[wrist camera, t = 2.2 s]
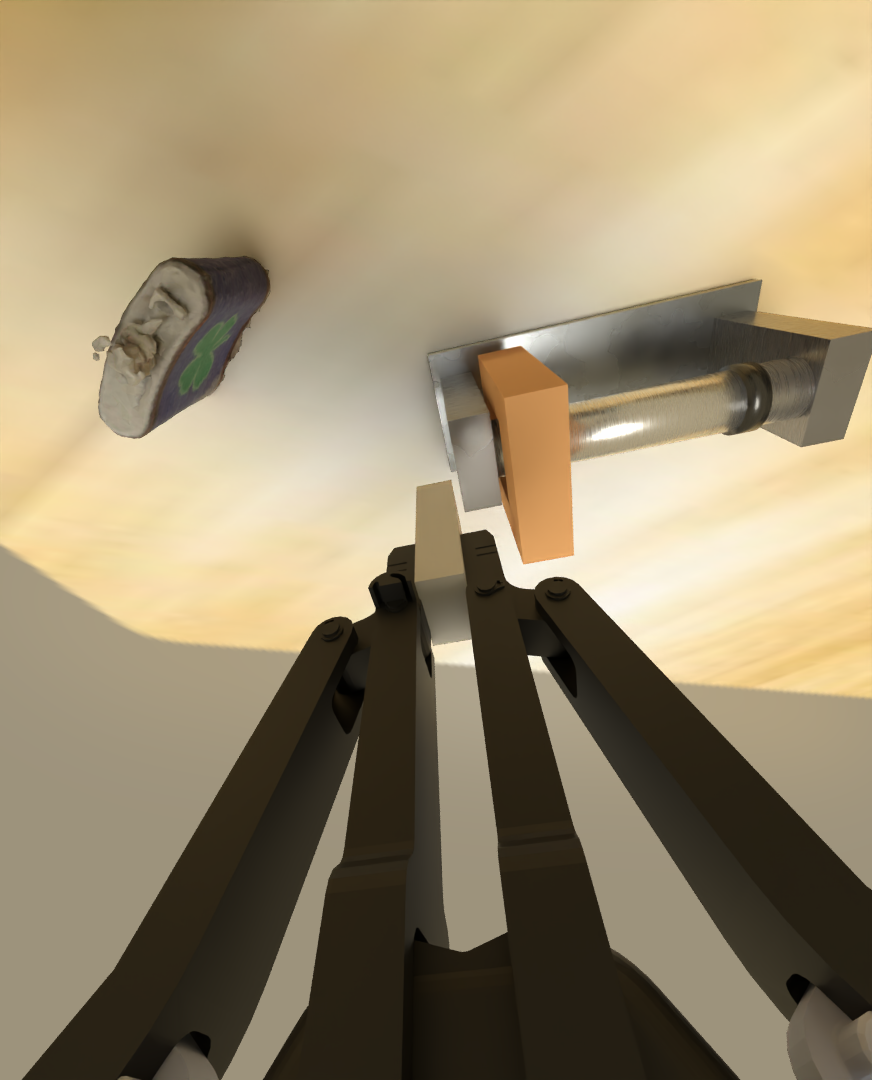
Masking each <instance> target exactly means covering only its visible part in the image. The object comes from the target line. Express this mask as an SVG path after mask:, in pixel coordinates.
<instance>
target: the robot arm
mask: <svg viewBox="0 0 872 1080" xmlns="http://www.w3.org/2000/svg"><path fill="white" fill-rule="evenodd" d="M368 589H369V591H370V594H371V597H372V599H373V602H374V605H375V607H376V610H375V613H373V614H372V615H371V616H369V617H367V618H365V619H363V620H360V621H358V622H356V623H352V621H351V620H349V619H348V618H346V617H334V618H330V619H328V620H326V621H324V622H322V623H321V624H320V625H318V626H317V627H316V628H315V630H314V631H313V632H312V634H311V636H310V637H309V639H308V641H307V642H306V644H305V646H304V648H303V649H302V651H301V653H300V654H299V656H298V658H297V659H296V661H295V663H294V665H293V666H292V668H291V670H290V671H289V673H288V675H287V676H286V678H285V680H284V682H283V683H282V685H281V687H280V688H279V690H278V692H277V693H276V695H275V697H274V699H273V700H272V702H271V704H270V705H269V707H268V709H267V710H266V712H265V714H264V716H263V717H262V719H261V721H260V722H259V724H258V726H257V727H256V729H255V731H254V733H253V734H252V736H251V738H250V739H249V741H248V743H247V744H246V746H245V748H244V750H243V751H242V753H241V755H240V756H239V758H238V760H237V761H236V763H235V765H234V767H233V768H232V770H231V772H230V773H229V775H228V777H227V778H226V780H225V782H224V784H223V785H222V787H221V789H220V790H219V792H218V794H217V795H216V797H215V799H214V801H213V802H212V804H211V806H210V807H209V809H208V811H207V813H206V814H205V816H204V818H203V819H202V821H201V823H200V824H199V826H198V828H197V829H196V831H195V833H194V835H193V836H192V838H191V840H190V841H189V843H188V845H187V846H186V848H185V850H184V852H183V853H182V855H181V857H180V858H179V860H178V862H177V863H176V865H175V867H174V869H173V870H172V872H171V874H170V875H169V877H168V879H167V881H166V882H165V884H164V886H163V887H162V889H161V891H160V892H159V894H158V896H157V897H156V899H155V901H154V902H153V904H152V906H151V908H150V909H149V911H148V913H147V914H146V916H145V918H144V919H143V921H142V923H141V925H140V926H139V928H138V930H137V931H136V933H135V935H134V936H133V938H132V940H131V942H130V943H129V945H128V947H127V948H126V950H125V952H124V954H123V955H122V957H121V959H120V960H119V962H118V964H117V965H116V967H115V969H114V970H113V972H112V973H111V974H110V975H109V976H108V977H107V979H106V980H105V981H104V982H103V983H102V985H101V986H100V987H99V988H98V989H97V991H96V992H95V993H94V994H93V995H92V996H91V998H90V999H89V1000H88V1001H87V1003H86V1004H85V1005H84V1006H83V1007H82V1008H81V1010H80V1011H79V1012H78V1013H77V1014H76V1016H75V1017H74V1018H73V1019H72V1020H71V1022H70V1023H69V1024H68V1025H67V1026H66V1028H65V1029H64V1030H63V1032H61V1034H60V1035H59V1036H58V1037H57V1038H56V1040H55V1041H54V1042H53V1043H52V1044H51V1045H50V1047H49V1048H48V1049H47V1050H46V1051H45V1053H44V1054H43V1055H42V1056H41V1057H40V1059H39V1060H38V1061H37V1062H36V1063H35V1065H34V1066H33V1067H32V1068H31V1069H30V1071H29V1072H28V1073H27V1074H26V1075H25V1077H24V1078H23V1079H22V1080H221V1079H222V1077H223V1075H224V1073H225V1072H226V1070H227V1068H228V1066H229V1065H230V1063H231V1061H232V1059H233V1057H234V1055H235V1053H236V1051H237V1049H238V1047H239V1045H240V1043H241V1041H242V1039H243V1036H244V1034H245V1032H246V1030H247V1028H248V1026H249V1024H250V1022H251V1020H252V1017H253V1015H254V1012H255V1010H256V1007H257V1005H258V1002H259V1000H260V997H261V995H262V993H263V990H264V988H265V986H266V983H267V980H268V978H269V975H270V972H271V970H272V967H273V964H274V961H275V959H276V956H277V953H278V951H279V948H280V945H281V943H282V940H283V937H284V934H285V932H286V929H287V926H288V924H289V921H290V919H291V916H292V913H293V911H294V908H295V905H296V902H297V900H298V897H299V894H300V892H301V889H302V886H303V884H304V881H305V878H306V876H307V873H308V870H309V868H310V865H311V862H312V860H313V856H314V854H315V851H316V849H317V846H318V843H319V841H320V838H321V835H322V833H323V830H324V827H325V824H326V822H327V819H328V817H329V814H330V811H331V809H332V806H333V803H334V800H335V798H336V795H337V792H338V790H339V787H340V784H341V782H342V779H343V776H344V774H345V771H346V768H347V766H348V762H349V760H350V758H351V755H352V752H353V750H354V747H355V744H356V741H357V739H358V736H359V740H358V748H357V756H356V763H355V771H354V778H353V786H352V794H351V802H350V810H349V817H348V825H347V832H346V840H345V847H344V853H343V858H342V860H341V862H340V864H339V865H337V866H336V867H335V868H334V869H333V870H332V873H331V875H330V877H329V880H328V885H327V889H326V894H325V900H324V907H323V914H322V921H321V927H320V934H319V940H318V947H317V953H316V960H315V967H314V973H313V980H312V986H311V993H310V1000H309V1006H308V1007H307V1009H306V1010H305V1011H304V1013H303V1014H302V1016H301V1017H300V1019H299V1021H298V1022H297V1024H296V1025H295V1027H294V1029H293V1030H292V1032H291V1034H290V1035H289V1037H288V1039H287V1040H286V1042H285V1044H284V1046H283V1047H282V1049H281V1050H280V1052H279V1054H278V1056H277V1057H276V1059H275V1060H274V1062H273V1064H272V1065H271V1067H270V1069H269V1070H268V1072H267V1074H266V1076H265V1078H264V1079H263V1080H740V1079H739V1078H738V1076H737V1075H736V1074H735V1073H734V1072H733V1071H732V1070H731V1069H730V1068H729V1066H728V1065H727V1064H726V1063H725V1062H724V1061H723V1060H722V1059H721V1057H720V1056H719V1055H718V1054H717V1053H716V1052H715V1051H714V1050H713V1048H712V1047H711V1046H710V1045H709V1044H708V1043H707V1042H706V1041H705V1040H704V1038H703V1037H702V1036H701V1035H700V1034H699V1033H698V1032H697V1031H696V1029H695V1028H694V1027H693V1026H692V1025H691V1024H690V1023H689V1022H688V1020H687V1019H686V1018H685V1017H684V1016H683V1015H682V1014H681V1013H680V1011H679V1010H678V1009H677V1008H676V1007H675V1006H674V1005H673V1004H672V1003H671V1001H670V1000H669V999H668V998H667V997H666V996H665V995H664V994H663V992H662V991H661V990H660V989H659V988H658V987H657V986H656V985H655V984H654V983H653V982H652V981H651V979H650V978H649V977H648V976H646V975H645V974H644V973H643V972H642V971H641V970H640V969H639V968H638V967H637V966H635V965H634V964H633V963H632V962H631V961H629V960H628V959H626V958H625V957H624V956H622V955H621V954H620V953H618V952H616V951H614V950H613V949H611V948H610V945H609V941H608V938H607V935H606V930H605V927H604V923H603V920H602V916H601V912H600V909H599V905H598V902H597V898H596V895H595V891H594V887H593V884H592V880H591V877H590V873H589V869H588V865H587V862H586V858H585V855H584V852H583V848H582V845H581V842H580V840H579V837H578V836H577V834H576V832H575V829H574V826H573V822H572V819H571V815H570V812H569V808H568V804H567V800H566V797H565V793H564V789H563V786H562V782H561V778H560V775H559V771H558V767H557V763H556V760H555V756H554V752H553V749H552V745H551V741H550V738H549V734H548V731H547V726H546V723H545V719H544V715H543V712H542V708H541V704H540V700H539V697H538V693H537V689H536V686H535V682H534V679H533V675H532V671H531V667H530V663H529V660H528V656H527V655H532V656H541V657H542V660H543V662H544V663H545V665H546V666H547V668H548V670H549V671H550V673H551V674H552V676H553V677H554V679H555V680H556V682H557V683H558V685H559V686H560V688H561V689H562V691H563V692H564V694H565V696H566V697H567V698H568V700H569V702H570V703H571V705H572V706H573V708H574V709H575V711H576V712H577V714H578V715H579V717H580V718H581V720H582V722H583V723H584V725H585V726H586V727H587V729H588V731H589V732H590V733H591V735H592V737H593V738H594V740H595V741H596V743H597V744H598V746H599V747H600V749H601V751H602V752H603V754H604V755H605V757H606V758H607V760H608V761H609V763H610V764H611V766H612V767H613V769H614V770H615V772H616V773H617V775H618V777H619V778H620V779H621V781H622V783H623V784H624V786H625V787H626V789H627V790H628V792H629V793H630V795H631V796H632V798H633V799H634V801H635V802H636V804H637V805H638V807H639V808H640V810H641V811H642V813H643V815H644V816H645V818H646V819H647V821H648V822H649V824H650V825H651V827H652V828H653V830H654V831H655V833H656V834H657V836H658V837H659V839H660V841H661V842H662V844H663V845H664V847H665V848H666V850H667V851H668V853H669V854H670V856H671V857H672V859H673V861H674V862H675V864H676V865H677V867H678V868H679V870H680V871H681V873H682V874H683V876H684V877H685V879H686V880H687V882H688V883H689V885H690V886H691V888H692V890H693V891H694V893H695V894H696V896H697V897H698V899H699V900H700V902H701V903H702V905H703V906H704V908H705V909H706V911H707V912H708V914H709V915H710V917H711V919H712V920H713V922H714V923H715V925H716V926H717V928H718V929H719V931H720V932H721V934H722V935H723V937H724V938H725V940H726V941H727V943H728V944H729V945H730V947H731V948H732V950H733V951H734V952H735V954H736V955H737V957H738V958H739V960H740V961H741V962H742V964H743V965H744V967H745V968H746V970H747V971H748V972H749V973H750V975H751V976H752V978H753V979H754V980H755V981H756V982H757V984H758V985H759V986H760V987H761V989H762V990H763V991H764V992H765V993H766V995H767V996H768V997H769V998H770V1000H771V1001H772V1002H773V1003H774V1004H775V1006H776V1007H777V1008H778V1009H779V1011H780V1012H781V1013H782V1014H783V1015H784V1016H785V1017H786V1019H788V1021H789V1022H790V1023H789V1027H788V1031H787V1051H788V1055H789V1058H790V1062H791V1065H792V1069H793V1072H794V1074H795V1076H796V1078H797V1080H872V890H871V889H870V888H868V887H867V886H866V885H865V884H864V883H863V882H862V881H861V880H860V879H859V878H858V877H857V876H856V875H855V874H854V873H853V872H852V871H851V870H850V869H849V867H848V866H847V865H846V864H845V863H844V862H843V861H842V860H841V859H840V858H839V857H838V856H837V855H836V854H835V853H834V852H833V851H832V850H831V849H830V848H829V846H828V845H827V844H826V843H825V842H824V841H823V840H822V839H821V838H820V837H819V836H818V835H817V834H816V833H815V832H814V831H813V830H812V829H811V828H810V827H809V826H808V824H806V822H805V821H804V820H803V819H802V818H801V817H800V816H799V815H798V814H797V813H796V812H795V811H794V810H793V809H792V808H791V807H790V806H789V805H788V803H787V802H786V801H785V800H784V799H783V798H782V797H781V796H780V795H779V794H778V793H777V792H776V791H775V790H774V789H773V788H772V787H771V786H770V785H769V784H768V783H767V781H765V779H764V778H763V777H762V776H761V775H760V774H759V773H758V772H757V771H756V770H755V769H754V768H753V767H752V766H751V765H750V764H749V763H748V762H747V761H746V759H745V758H744V757H743V756H742V755H741V754H740V753H739V752H738V751H737V750H736V749H735V748H734V747H733V746H732V745H731V744H730V743H729V742H728V741H727V740H726V738H724V736H723V735H722V734H721V733H720V732H719V731H718V730H717V729H716V728H715V727H714V726H713V725H712V724H711V723H710V722H709V721H708V720H707V719H706V718H705V716H704V715H703V714H702V713H701V712H700V711H699V710H698V709H697V708H696V707H695V706H694V705H693V704H692V703H691V702H690V701H689V700H688V699H687V698H686V697H685V695H683V694H682V692H681V691H680V690H679V689H678V688H677V687H676V686H675V685H674V684H673V683H672V682H671V681H670V680H669V679H668V678H667V677H666V676H665V675H664V673H663V672H662V671H661V670H660V669H659V668H658V667H657V666H656V665H655V664H654V663H653V662H652V661H651V660H650V659H649V658H648V657H647V656H646V655H645V654H644V653H643V651H642V650H641V649H640V648H639V647H638V646H637V645H636V644H635V643H634V642H633V641H632V640H631V639H630V638H629V637H628V636H627V635H626V634H625V633H624V632H623V630H622V629H621V628H620V627H619V626H618V625H617V624H616V623H615V622H614V621H613V620H612V619H611V618H610V617H609V616H608V615H607V614H606V613H605V612H604V611H603V610H602V608H601V607H600V606H599V605H598V604H597V603H596V602H595V601H594V600H593V599H592V598H591V597H590V596H589V595H588V594H587V593H586V592H585V591H584V590H583V589H582V587H581V586H580V585H579V584H577V583H576V582H575V581H573V580H571V579H568V578H564V577H553V578H548V579H545V580H543V581H541V582H540V583H539V584H538V585H537V586H536V587H535V590H534V589H522V588H518V587H515V586H513V585H511V584H509V583H508V582H507V581H506V579H505V577H504V573H503V570H502V566H501V562H500V558H499V555H498V551H497V547H496V544H495V540H494V536H493V535H492V534H491V533H489V532H488V531H487V530H482V531H476V532H471V533H466V534H462V531H461V526H460V521H459V516H458V512H457V507H456V502H455V497H454V492H453V487H452V482H451V480H448V481H443V482H438V483H433V484H428V485H423V486H418V487H417V492H416V537H415V544H413V545H407V546H402V547H397V548H394V549H393V551H392V552H391V553H390V555H389V556H388V563H387V571H386V573H383V574H381V575H379V576H378V577H376V578H375V579H374V580H373V581H372V582H371V583H370V585H369V588H368ZM470 639H472V645H473V653H474V660H475V668H476V675H477V683H478V690H479V698H480V706H481V713H482V721H483V728H484V736H485V744H486V751H487V759H488V767H489V774H490V781H491V788H492V797H493V804H494V811H495V819H496V827H497V835H498V858H499V867H500V875H501V883H502V891H503V899H504V907H505V914H506V922H507V930H508V932H507V933H505V934H503V935H501V936H499V937H496V938H495V939H492V940H490V941H488V942H486V943H484V944H482V945H480V946H478V947H476V948H474V949H472V950H470V951H466V952H459V951H455V950H450V949H449V939H448V930H447V925H446V919H445V914H444V905H443V887H442V861H441V832H440V804H439V776H438V750H437V721H436V695H435V666H434V656H433V653H432V649H431V640H432V643H433V646H434V645H440V644H446V643H452V642H458V641H464V640H470Z"/></svg>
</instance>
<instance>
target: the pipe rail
mask: <svg viewBox="0 0 872 1080" xmlns="http://www.w3.org/2000/svg"><path fill="white" fill-rule="evenodd" d="M761 284H762V280H749V281H744V282H740V283H736V284H731V285H727V286H723V287H718V288H714V289H709V290H705V291H701V292H696V293H692V294H687V295H683V296H679V297H674V298H670V299H665V300H661V301H657V302H652V303H648V304H643V305H639V306H635V307H630V308H626V309H622V310H617V311H613V312H608V313H604V314H600V315H595V316H591V317H586V318H582V319H578V320H573V321H569V322H564V323H560V324H556V325H551V326H547V327H542V328H538V329H534V330H529V331H525V332H521V333H516V334H512V335H507V336H503V337H499V338H494V339H490V340H485V341H481V342H477V343H472V344H468V345H463V346H459V347H455V348H450V349H446V350H441V351H437V352H433V353H428V360H429V365H430V370H431V375H432V380H433V385H434V390H435V395H436V399H437V404H438V409H439V414H440V419H441V424H442V429H443V434H444V439H445V444H446V449H447V454H448V459H449V464H450V469H451V472H453V471H457V474H458V479H459V484H460V489H461V494H462V499H463V505H464V510H465V512H469V511H474V510H479V509H484V508H489V507H494V506H500V505H502V500H501V492H500V485H499V477H504V476H506V475H505V467H504V459H503V451H502V443H501V435H500V427H499V421H498V419H494V420H491V419H490V412H489V410H488V408H487V406H486V404H485V401H484V396H483V389H482V382H481V375H480V368H479V361H478V355H481V354H485V353H490V352H494V351H499V350H503V349H508V348H512V347H516V346H522V347H523V348H524V349H525V350H527V351H528V352H529V353H530V354H532V355H533V356H534V357H535V358H536V359H538V360H539V361H540V362H541V363H543V364H544V365H545V366H546V367H547V368H549V369H550V370H551V371H552V372H553V373H555V374H556V375H557V376H558V377H560V378H561V379H562V380H563V381H564V382H566V383H567V384H568V402H569V431H570V459H571V463H574V462H579V461H584V460H589V459H594V458H599V457H604V456H609V455H614V454H619V453H624V452H629V451H634V450H639V449H644V448H649V447H654V446H659V445H664V444H669V443H674V442H679V441H684V440H689V439H694V438H699V437H704V436H709V435H714V434H719V433H722V434H724V435H735V434H740V433H745V432H750V431H754V430H757V429H758V428H762V429H764V430H767V431H769V432H771V433H773V434H775V435H777V436H779V437H781V438H783V439H785V440H787V441H789V442H791V443H793V444H796V445H798V446H800V447H804V446H810V445H815V444H820V443H825V442H830V441H835V440H841V439H844V436H845V433H846V430H847V427H848V424H849V421H850V418H851V415H852V412H853V409H854V406H855V403H856V400H857V397H858V394H859V391H860V388H861V385H862V382H863V379H864V376H865V373H866V370H867V367H868V364H869V361H870V358H871V355H872V328H868V327H861V326H854V325H847V324H840V323H833V322H826V321H819V320H812V319H805V318H798V317H791V316H784V315H777V314H770V313H763V312H756V311H757V306H758V300H759V295H760V289H761Z"/></svg>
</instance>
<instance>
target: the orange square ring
mask: <svg viewBox="0 0 872 1080" xmlns="http://www.w3.org/2000/svg"><path fill="white" fill-rule="evenodd" d="M478 361H479V368H480V375H481V382H482V389H483V396H484V401H485V404H486V406H487V408H488V410H489V412H490V419H491V420H494V419H498V421H499V427H500V435H501V443H502V451H503V459H504V467H505V475H506V476H504V477H499V485H500V492H501V500H502V503H503V506H504V509H505V512H506V515H507V518H508V520H509V523H510V526H511V529H512V532H513V535H514V538H515V541H516V544H517V547H518V550H519V553H520V556H521V559H522V562H523V564H529V563H534V562H540V561H545V560H551V559H556V558H562V557H567V556H573V555H574V546H573V517H572V488H571V459H570V431H569V402H568V384H567V383H566V382H564V381H563V380H562V379H561V378H560V377H558V376H557V375H556V374H555V373H553V372H552V371H551V370H550V369H549V368H547V367H546V366H545V365H544V364H543V363H541V362H540V361H539V360H538V359H536V358H535V357H534V356H533V355H532V354H530V353H529V352H528V351H527V350H525V349H524V348H523V347H522V346H516V347H512V348H508V349H503V350H499V351H494V352H490V353H485V354H481V355H478Z"/></svg>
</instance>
